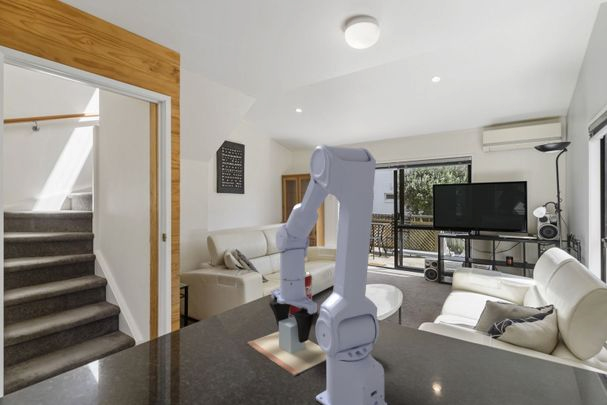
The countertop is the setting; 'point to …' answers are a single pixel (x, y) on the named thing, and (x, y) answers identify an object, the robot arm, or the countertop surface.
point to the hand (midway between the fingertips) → (292, 335)
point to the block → (289, 336)
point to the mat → (288, 361)
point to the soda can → (307, 293)
